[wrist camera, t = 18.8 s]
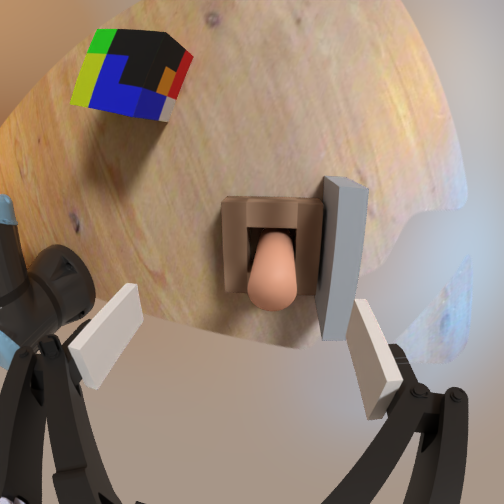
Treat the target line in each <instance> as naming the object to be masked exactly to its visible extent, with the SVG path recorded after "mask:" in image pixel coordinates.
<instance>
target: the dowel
mask: <svg viewBox="0 0 504 504" xmlns="http://www.w3.org/2000/svg"><path fill="white" fill-rule="evenodd" d="M247 290H248V295H249V298H250V300H251V301H252V302H253V303H254V304H255V305H256V306H257V307H259V308H261V309H263V310H267V311H278V310H282V309H284V308H286V307H288V306H289V305H290V304H291V303H292V302H293V301H294V299H295V297H296V294H297V284H296V272H295V261H294V251H293V241H292V235H291V233H290V231H289V230H288V229H287V228H265V229H264V230H263V231H262V232H261V234H260V238H259V242H258V246H257V250H256V254H255V258H254V262H253V266H252V270H251V274H250V278H249V283H248V288H247Z"/></svg>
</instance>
